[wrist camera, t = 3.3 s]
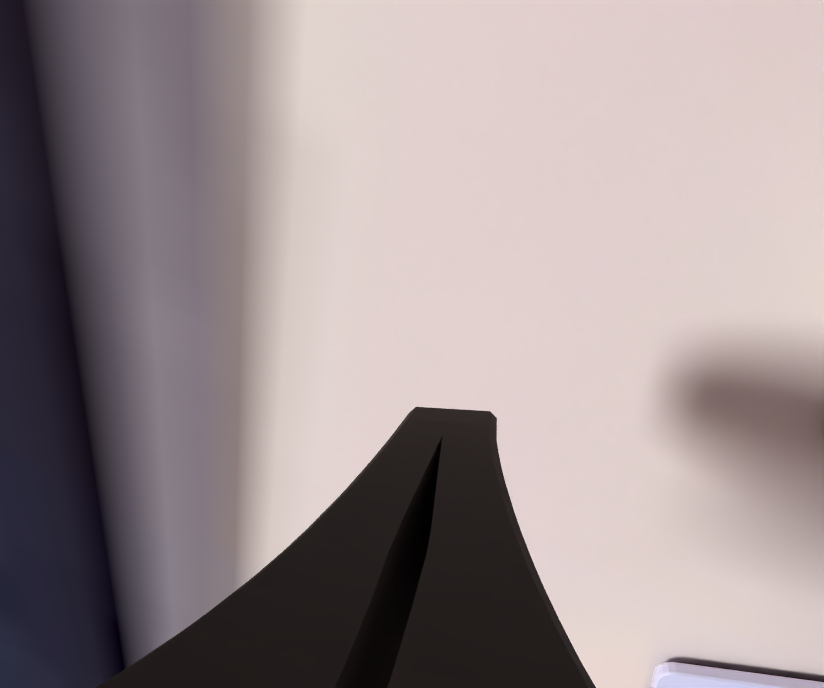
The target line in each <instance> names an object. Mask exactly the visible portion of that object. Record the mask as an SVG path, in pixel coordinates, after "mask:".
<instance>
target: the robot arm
mask: <svg viewBox="0 0 824 688" xmlns="http://www.w3.org/2000/svg"><path fill="white" fill-rule="evenodd" d="M496 434H497V418H496V417H495V416H494V415H493V414H492V413H491V412H490V411H474V410H458V409H441V408H424V407H415V408H414V409H413V410H412V411H411V412H410V413H409V414H408V415H407V417H406V418H405V419H404V421H403V422H402V423H401V424H400V426H399V427H398V428H397V430H396V431H395V432H394V434H393V435H392V436H391V437H390V439H389V440H388V441H387V442H386V444H385V445H384V446H383V447H382V448H381V450H380V451H379V452H378V453H377V454H376V456H375V457H374V458H373V459H372V460H371V462H370V463H369V464H368V465H367V466H366V467H365V468H364V470H363V471H362V472H361V473H360V474H359V475H358V476H357V477H356V479H355V480H354V481H353V482H352V483H351V484H350V485H349V487H348V488H347V489H346V490H345V491H344V492H343V493H342V494H341V495H340V496H339V497H338V498H337V499H336V500H335V501H334V502H333V503H332V504H331V505H330V506H329V507H328V508H327V509H326V510H325V511H324V512H323V513H322V514H321V515H320V517H319V518H318V519H317V520H316V521H315V522H314V523H313V524H312V525H311V526H310V527H309V528H308V529H307V530H306V531H305V532H303V533H302V534H301V535H300V536H299V537H298V538H297V539H296V540H295V541H294V542H293V543H292V544H291V545H290V546H288V547H287V548H286V549H285V550H284V551H283V552H282V553H281V554H280V555H278V556H277V557H276V558H275V559H274V560H273V561H271V562H270V563H269V564H268V565H267V566H266V567H264V568H263V569H262V570H261V571H260V572H259V573H257V574H256V575H255V576H254V577H253V578H251V579H250V580H249V581H248V582H246V583H245V584H244V585H243V586H241V587H240V588H239V589H237V590H236V591H235V592H234V593H232V594H231V595H230V596H229V597H227V598H226V599H225V600H223V601H222V602H221V603H220V604H218V605H217V606H216V607H214V608H213V609H212V610H211V611H209V612H208V613H207V614H205V615H204V616H202V617H201V618H200V619H198V620H197V621H196V622H194V623H193V624H192V625H190V626H189V627H187V628H186V629H185V630H183V631H182V632H180V633H179V634H177V635H176V636H174V637H173V638H171V639H170V640H168V641H167V642H165V643H164V644H162V645H161V646H159V647H158V648H156V649H155V650H153V651H152V652H150V653H149V654H147V655H146V656H144V657H143V658H141V659H140V660H138V661H137V662H135V663H134V664H132V665H131V666H129V667H128V668H126V669H125V670H123V671H122V672H120V673H119V674H117V675H115V676H114V677H112V678H111V679H109V680H108V681H106V682H104V683H103V684H101V685H99V686H98V687H96V688H596V687H595V685H594V684H593V682H592V680H591V679H590V677H589V675H588V673H587V672H586V670H585V668H584V666H583V665H582V663H581V661H580V659H579V657H578V656H577V654H576V652H575V650H574V648H573V646H572V644H571V642H570V640H569V638H568V636H567V634H566V632H565V630H564V628H563V626H562V624H561V622H560V621H559V619H558V616H557V614H556V612H555V610H554V608H553V606H552V604H551V602H550V600H549V597H548V595H547V593H546V591H545V589H544V587H543V584H542V582H541V580H540V578H539V575H538V573H537V571H536V568H535V566H534V563H533V561H532V559H531V556H530V554H529V551H528V548H527V546H526V543H525V541H524V538H523V536H522V533H521V530H520V527H519V525H518V522H517V519H516V516H515V513H514V510H513V507H512V503H511V500H510V497H509V494H508V490H507V487H506V484H505V480H504V476H503V472H502V468H501V463H500V458H499V454H498V448H497V440H496ZM650 688H824V682H818V681H811V680H804V679H796V678H789V677H781V676H774V675H766V674H759V673H751V672H744V671H736V670H729V669H722V668H714V667H707V666H699V665H692V664H684V663H677V662H665V663H662V664H660V665H658V666H657V667H656V669H655V670H654V674H653V679H652V683H651V687H650Z"/></svg>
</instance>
